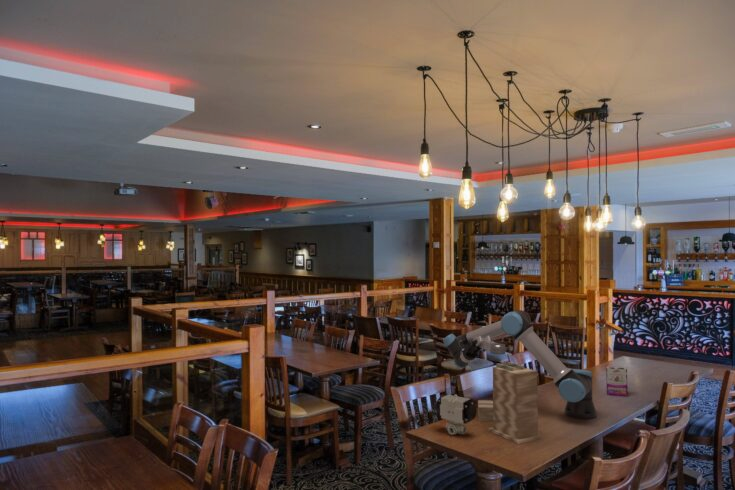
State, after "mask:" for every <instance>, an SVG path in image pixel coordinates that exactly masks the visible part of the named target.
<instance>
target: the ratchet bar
mask: <svg viewBox="0 0 735 490" xmlns="http://www.w3.org/2000/svg"><path fill="white" fill-rule="evenodd" d="M477 338H478V337H473V341H474V340H476V339H477ZM481 340H482V341H481V342H480V343H479V344H478V345H477V346H478V347H480V348H483V349H485V351H487V352H490V354H492V355H505V354H506V344H504V343H499V342H495V341H492V340H491V339H490V340H488V339H485V338H482V337H481ZM475 346H476V345H475Z"/></svg>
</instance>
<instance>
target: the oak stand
mask: <svg viewBox="0 0 735 490" xmlns="http://www.w3.org/2000/svg"><path fill="white" fill-rule="evenodd" d="M492 401H493V422H492V424H493V425H492V427H488V431H489V432H491V433H493V434H494V435H497V436H499V437H502V438H504V439H506V440H509V441H511V442H513V443H515V444H518V445H519V444H524V443H527V442H532V441H536V440H540V439H544V438H543V434H541V433H539V430H538V429H539V423H538V422H539V421H538V420H539V417H538V414H539V413H538V411H539V409H538V401H539V400H538V371H537V370H536V369H535V370H534V369H531V368H527V367H524V365H522V364H518V363H513V362H512V361H511V362H510V361H506V364H502V363H496V364H495V366H493V367H492Z"/></svg>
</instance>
